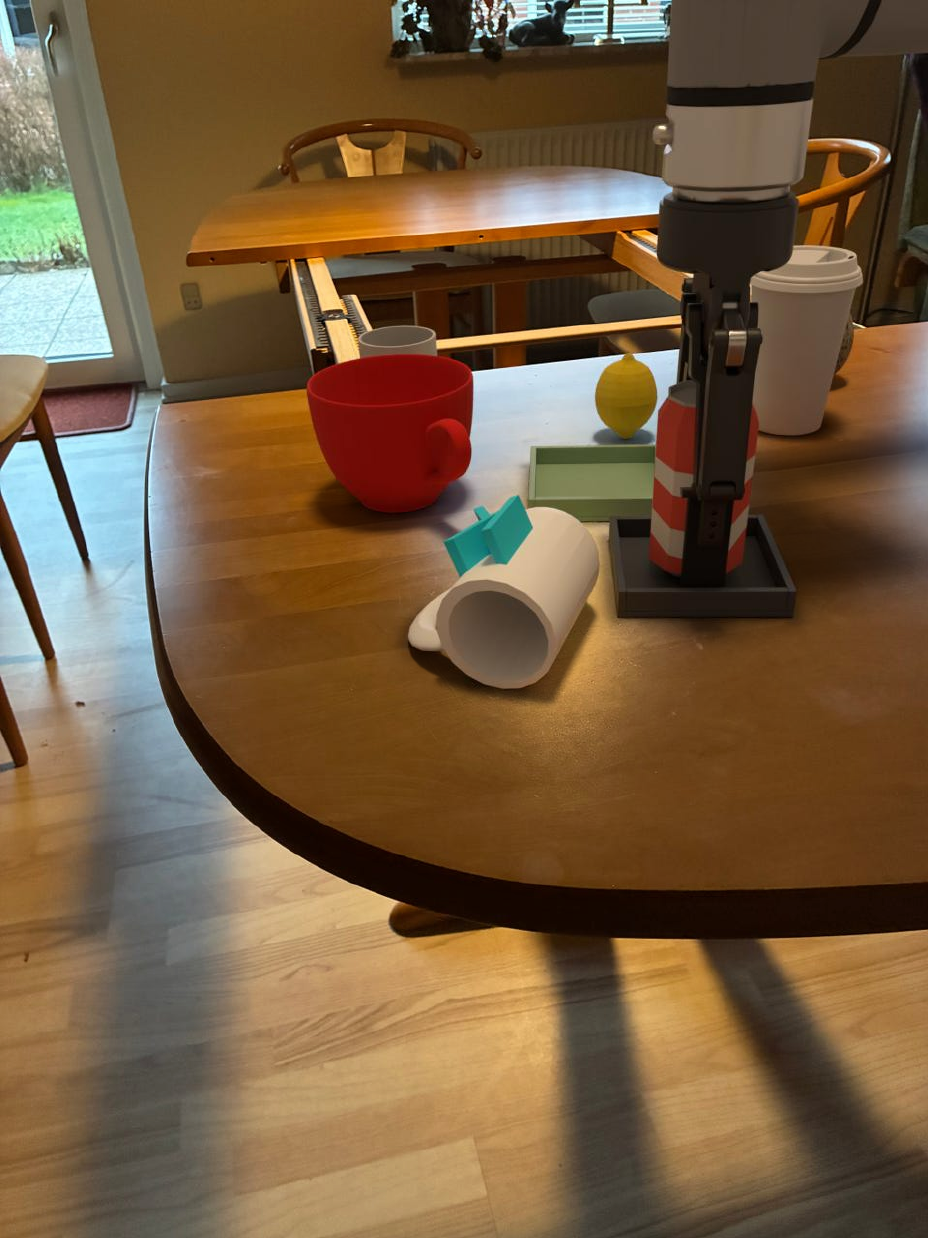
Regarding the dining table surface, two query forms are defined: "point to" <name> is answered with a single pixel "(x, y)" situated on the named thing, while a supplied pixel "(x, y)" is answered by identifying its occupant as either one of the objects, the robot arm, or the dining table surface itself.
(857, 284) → the coffee cup
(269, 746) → the dining table surface
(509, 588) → the mug
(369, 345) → the cup
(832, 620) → the dining table surface
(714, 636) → the dining table surface
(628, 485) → the green tray
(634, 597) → the charcoal tray
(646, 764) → the dining table surface
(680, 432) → the beverage can
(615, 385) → the fruit
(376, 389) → the ceramic cup
